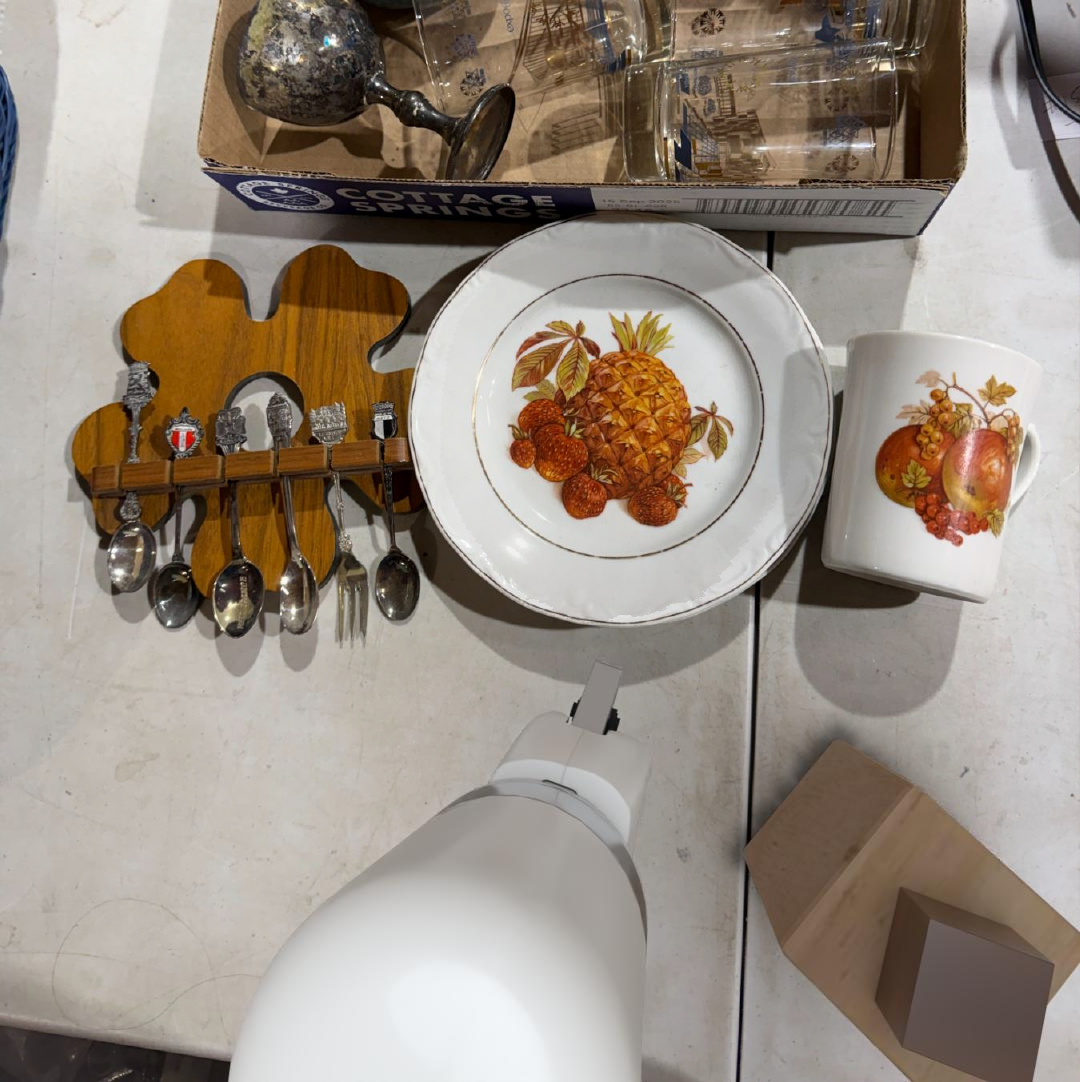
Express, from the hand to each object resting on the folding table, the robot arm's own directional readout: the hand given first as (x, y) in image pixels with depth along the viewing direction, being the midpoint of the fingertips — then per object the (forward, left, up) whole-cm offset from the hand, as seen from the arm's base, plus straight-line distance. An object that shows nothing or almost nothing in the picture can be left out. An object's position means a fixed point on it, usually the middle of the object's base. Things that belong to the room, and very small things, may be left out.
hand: (569, 818), depth 45 cm
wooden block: (0, -17, -23) cm, 29 cm away
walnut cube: (-1, -18, -3) cm, 18 cm away
